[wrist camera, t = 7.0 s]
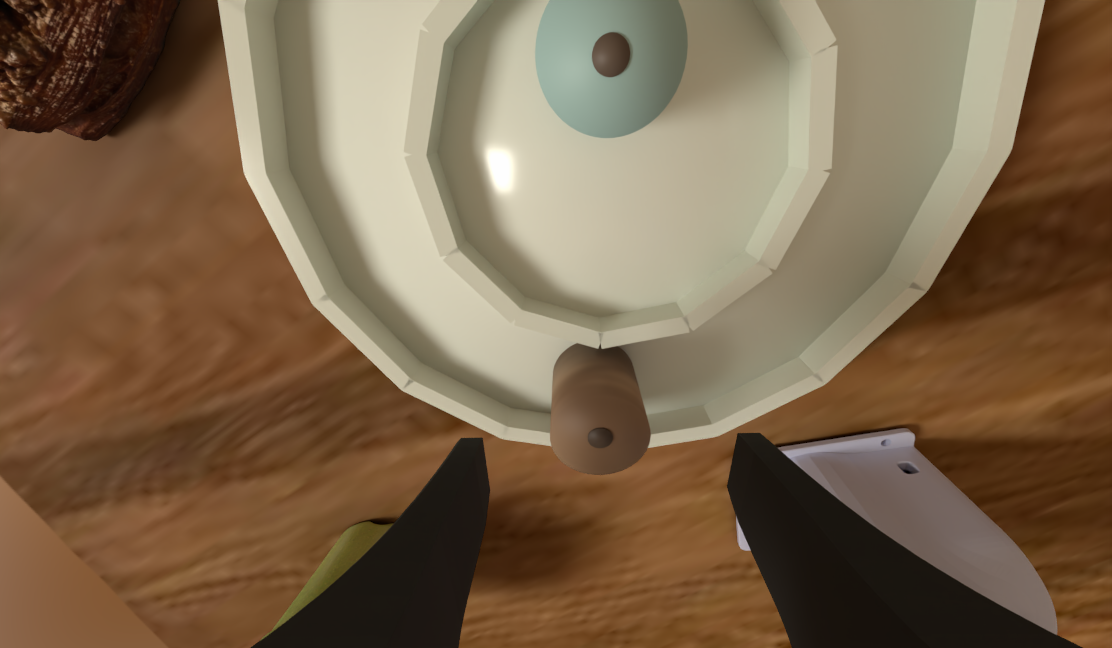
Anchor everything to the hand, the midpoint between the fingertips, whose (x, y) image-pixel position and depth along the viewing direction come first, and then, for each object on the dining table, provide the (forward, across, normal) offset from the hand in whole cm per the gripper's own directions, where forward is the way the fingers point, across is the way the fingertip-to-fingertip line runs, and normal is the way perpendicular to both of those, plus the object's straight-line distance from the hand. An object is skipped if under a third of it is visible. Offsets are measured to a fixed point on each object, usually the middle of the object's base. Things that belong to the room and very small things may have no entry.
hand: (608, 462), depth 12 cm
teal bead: (+9, 0, -10) cm, 13 cm away
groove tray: (+10, -1, -7) cm, 12 cm away
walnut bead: (+8, 0, +3) cm, 9 cm away
